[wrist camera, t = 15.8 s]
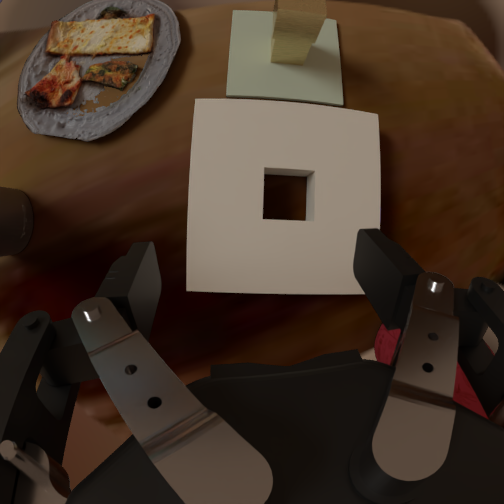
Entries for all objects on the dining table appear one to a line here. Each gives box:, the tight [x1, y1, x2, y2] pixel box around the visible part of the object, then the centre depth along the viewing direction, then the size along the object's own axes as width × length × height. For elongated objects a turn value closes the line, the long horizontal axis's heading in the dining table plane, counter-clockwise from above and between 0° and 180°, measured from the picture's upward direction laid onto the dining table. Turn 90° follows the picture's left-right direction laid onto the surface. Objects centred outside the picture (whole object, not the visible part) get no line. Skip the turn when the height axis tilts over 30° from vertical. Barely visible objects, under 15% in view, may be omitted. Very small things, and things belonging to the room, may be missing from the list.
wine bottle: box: [374, 324, 495, 420], centre depth 22 cm, size 10×10×30 cm
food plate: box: [17, 0, 181, 142], centre depth 30 cm, size 25×23×4 cm
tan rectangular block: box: [270, 0, 327, 66], centre depth 27 cm, size 5×4×11 cm
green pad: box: [226, 10, 343, 106], centre depth 33 cm, size 14×14×1 cm
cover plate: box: [186, 99, 381, 294], centre depth 32 cm, size 20×20×4 cm
